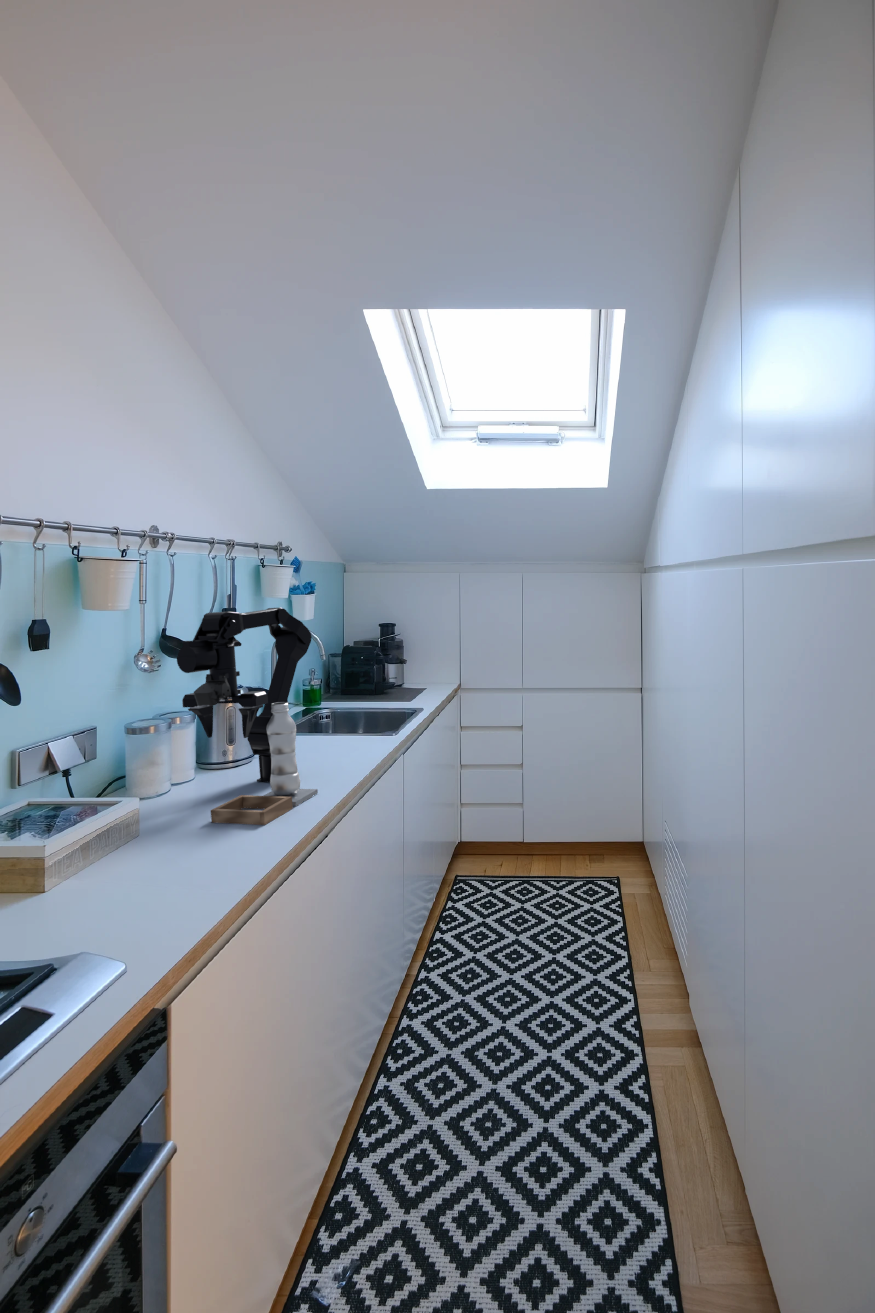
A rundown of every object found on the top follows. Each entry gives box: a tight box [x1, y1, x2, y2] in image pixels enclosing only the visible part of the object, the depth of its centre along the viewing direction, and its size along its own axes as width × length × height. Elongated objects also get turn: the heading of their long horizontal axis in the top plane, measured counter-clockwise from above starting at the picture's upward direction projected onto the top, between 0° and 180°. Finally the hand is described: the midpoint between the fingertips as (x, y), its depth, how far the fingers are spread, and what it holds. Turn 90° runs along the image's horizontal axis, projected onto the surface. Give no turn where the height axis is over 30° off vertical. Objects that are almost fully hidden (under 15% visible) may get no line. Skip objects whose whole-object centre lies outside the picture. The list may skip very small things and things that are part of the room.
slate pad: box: [262, 788, 319, 807], centre depth 164 cm, size 10×10×1 cm
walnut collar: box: [210, 794, 294, 826], centre depth 153 cm, size 12×11×2 cm
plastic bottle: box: [267, 701, 301, 795], centre depth 163 cm, size 6×7×20 cm
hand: (227, 737), depth 169 cm, fingers open, 9 cm apart
